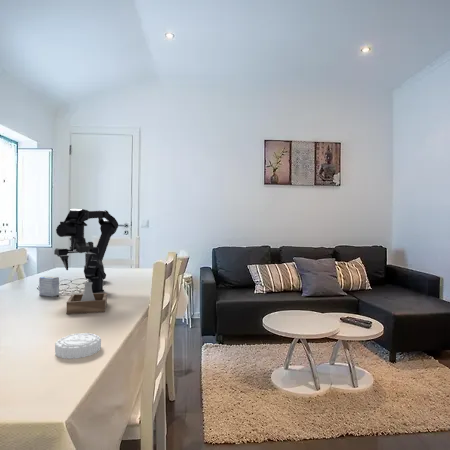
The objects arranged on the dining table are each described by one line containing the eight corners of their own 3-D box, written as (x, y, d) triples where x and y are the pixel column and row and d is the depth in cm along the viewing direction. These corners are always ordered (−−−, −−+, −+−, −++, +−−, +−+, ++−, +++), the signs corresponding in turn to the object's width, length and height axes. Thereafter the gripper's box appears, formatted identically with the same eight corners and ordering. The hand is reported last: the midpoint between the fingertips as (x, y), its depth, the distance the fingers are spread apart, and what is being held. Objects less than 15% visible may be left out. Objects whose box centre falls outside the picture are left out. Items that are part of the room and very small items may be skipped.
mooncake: (106, 343, 104) (106, 331, 103) (92, 359, 92) (92, 346, 92) (66, 343, 103) (66, 331, 103) (46, 359, 91) (46, 346, 91)
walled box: (72, 305, 146) (72, 294, 146) (106, 303, 150) (106, 292, 149) (66, 314, 132) (66, 302, 132) (104, 312, 136) (104, 300, 136)
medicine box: (59, 295, 164) (59, 277, 164) (51, 297, 160) (52, 278, 159) (46, 293, 166) (46, 275, 166) (38, 295, 162) (39, 277, 162)
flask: (97, 308, 139) (97, 283, 139) (78, 309, 136) (78, 284, 136) (97, 304, 146) (97, 280, 146) (79, 305, 143) (79, 281, 143)
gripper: (63, 237, 148) (63, 273, 148) (104, 236, 161) (104, 269, 162) (53, 236, 155) (53, 270, 156) (93, 235, 169) (93, 266, 169)
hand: (77, 269), depth 160 cm, fingers open, 9 cm apart
